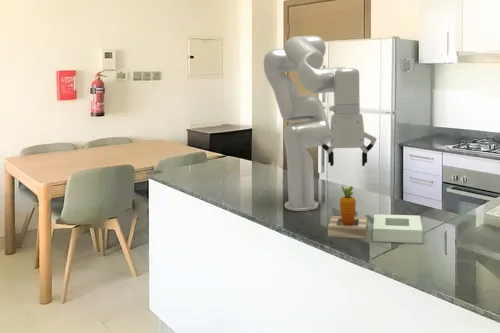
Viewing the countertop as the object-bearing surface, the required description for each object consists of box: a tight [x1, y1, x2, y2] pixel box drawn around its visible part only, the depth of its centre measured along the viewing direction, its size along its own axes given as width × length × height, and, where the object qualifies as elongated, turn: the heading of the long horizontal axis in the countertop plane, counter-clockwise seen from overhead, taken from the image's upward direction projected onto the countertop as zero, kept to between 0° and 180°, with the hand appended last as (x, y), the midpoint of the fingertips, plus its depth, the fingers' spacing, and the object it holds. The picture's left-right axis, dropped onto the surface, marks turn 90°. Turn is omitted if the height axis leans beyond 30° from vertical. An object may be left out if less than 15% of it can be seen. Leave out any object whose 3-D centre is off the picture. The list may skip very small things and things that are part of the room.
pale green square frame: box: [372, 213, 424, 244], centre depth 158 cm, size 14×14×4 cm
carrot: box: [339, 185, 357, 226], centre depth 162 cm, size 5×5×15 cm
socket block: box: [327, 215, 368, 239], centre depth 163 cm, size 12×12×3 cm
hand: (347, 165), depth 159 cm, fingers open, 9 cm apart
